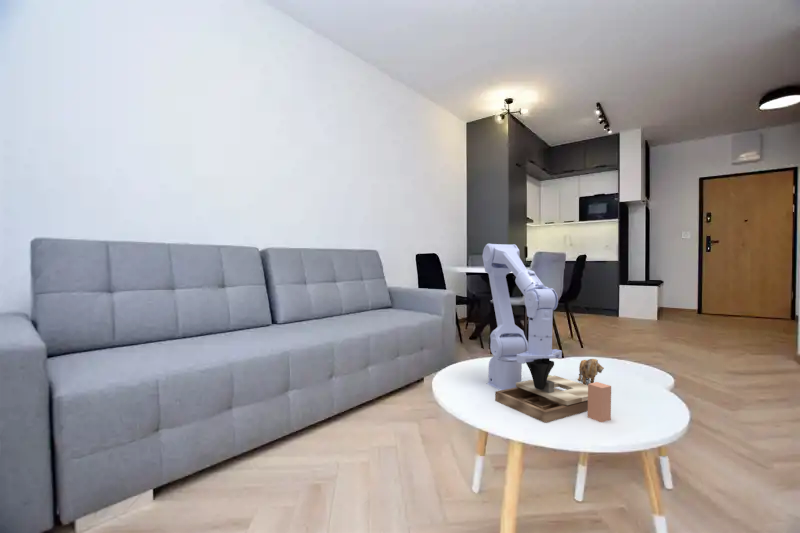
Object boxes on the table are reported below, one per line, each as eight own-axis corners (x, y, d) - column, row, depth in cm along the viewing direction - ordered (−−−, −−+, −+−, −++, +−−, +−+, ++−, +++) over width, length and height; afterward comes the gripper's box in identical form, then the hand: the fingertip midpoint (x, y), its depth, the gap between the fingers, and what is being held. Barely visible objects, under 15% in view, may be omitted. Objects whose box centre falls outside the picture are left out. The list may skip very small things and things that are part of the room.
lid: (515, 386, 103) (516, 373, 103) (554, 378, 111) (554, 367, 111) (567, 405, 89) (567, 390, 89) (607, 395, 97) (607, 381, 97)
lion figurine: (605, 391, 111) (605, 361, 111) (586, 390, 111) (586, 360, 111) (587, 377, 125) (587, 350, 125) (570, 376, 126) (570, 349, 126)
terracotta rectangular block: (587, 419, 89) (588, 383, 90) (596, 416, 91) (597, 381, 91) (601, 425, 86) (602, 388, 86) (610, 422, 88) (611, 386, 88)
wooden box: (495, 402, 99) (495, 391, 99) (536, 393, 107) (536, 383, 107) (545, 425, 86) (545, 412, 86) (588, 413, 93) (588, 401, 93)
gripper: (532, 340, 89) (531, 397, 89) (572, 335, 96) (571, 388, 96) (510, 335, 95) (509, 388, 95) (549, 331, 102) (548, 381, 102)
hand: (539, 388), depth 96 cm, fingers closed
